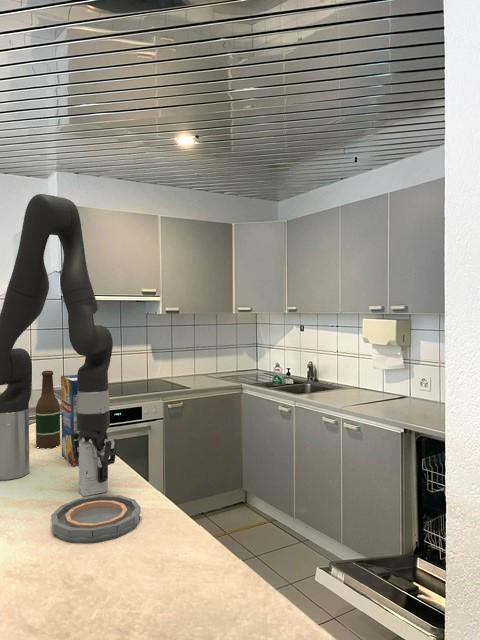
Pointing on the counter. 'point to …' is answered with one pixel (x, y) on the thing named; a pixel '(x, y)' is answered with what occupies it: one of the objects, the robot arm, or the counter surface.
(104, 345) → the robot arm
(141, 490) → the counter surface
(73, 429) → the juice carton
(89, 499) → the ring tray
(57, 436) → the beer bottle
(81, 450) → the skincare box
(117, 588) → the counter surface
